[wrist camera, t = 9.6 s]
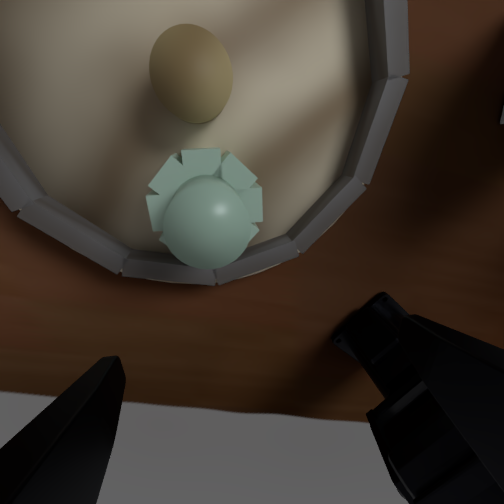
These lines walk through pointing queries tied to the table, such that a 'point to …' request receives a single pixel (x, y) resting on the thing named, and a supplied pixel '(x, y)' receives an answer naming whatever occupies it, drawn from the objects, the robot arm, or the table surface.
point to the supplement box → (502, 117)
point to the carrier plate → (135, 133)
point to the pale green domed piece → (205, 206)
